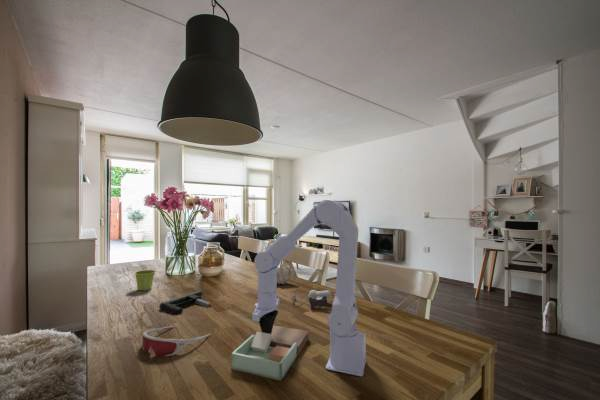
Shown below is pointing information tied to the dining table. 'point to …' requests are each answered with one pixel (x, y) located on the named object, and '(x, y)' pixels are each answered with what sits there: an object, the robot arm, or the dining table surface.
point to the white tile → (261, 342)
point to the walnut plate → (288, 337)
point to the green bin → (261, 361)
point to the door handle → (183, 302)
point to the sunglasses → (165, 343)
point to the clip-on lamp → (316, 298)
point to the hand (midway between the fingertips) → (266, 336)
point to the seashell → (284, 274)
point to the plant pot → (144, 279)
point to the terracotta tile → (278, 353)
